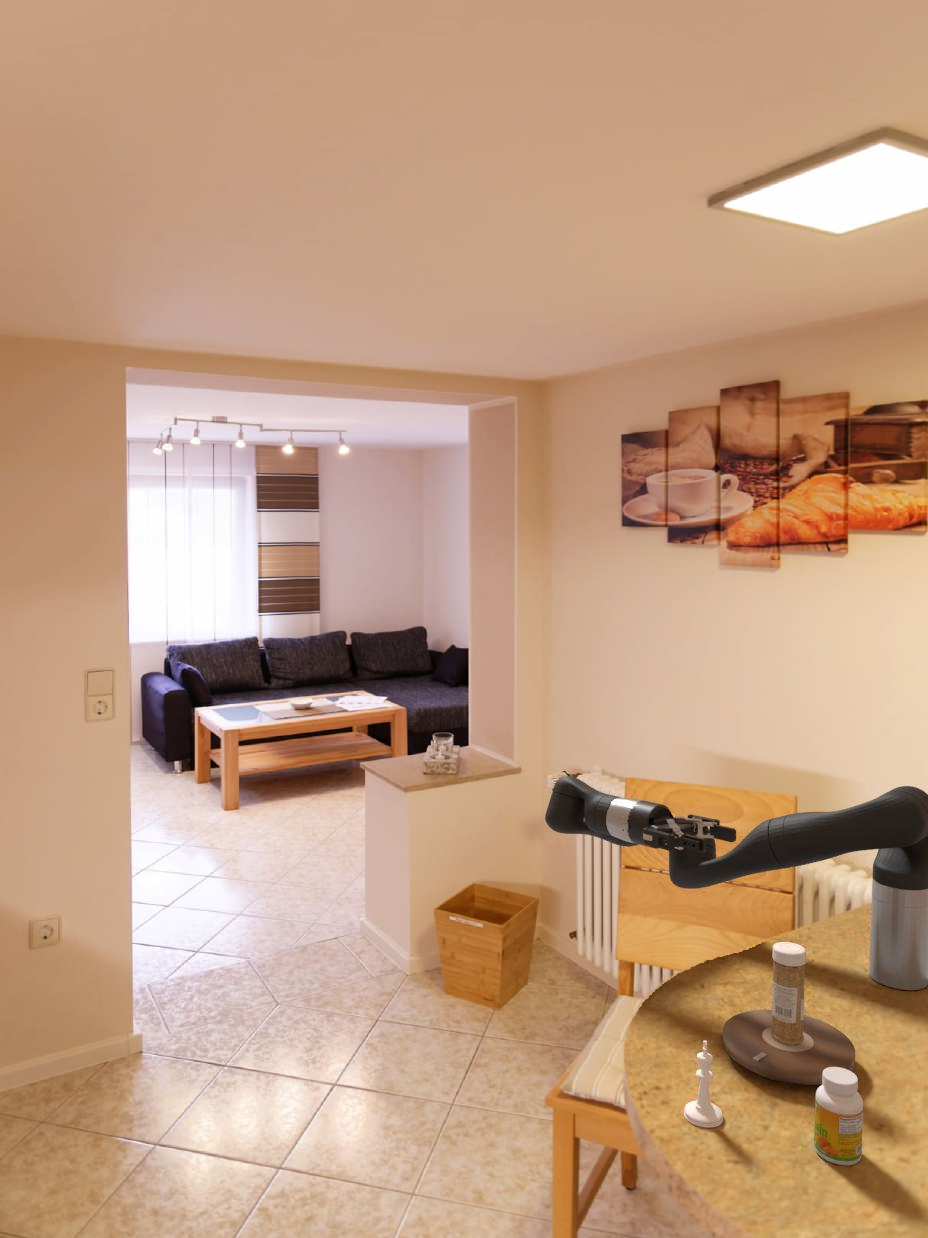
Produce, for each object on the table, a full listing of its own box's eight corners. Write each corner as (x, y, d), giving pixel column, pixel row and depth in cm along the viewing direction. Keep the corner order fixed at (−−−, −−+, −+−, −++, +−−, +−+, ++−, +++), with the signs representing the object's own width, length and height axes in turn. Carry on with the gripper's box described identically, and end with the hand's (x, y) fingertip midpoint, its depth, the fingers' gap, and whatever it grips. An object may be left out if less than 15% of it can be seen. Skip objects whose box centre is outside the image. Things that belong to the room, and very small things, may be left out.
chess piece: (724, 1110, 122) (726, 1035, 121) (721, 1131, 117) (723, 1054, 116) (685, 1102, 123) (687, 1029, 123) (681, 1123, 119) (683, 1047, 118)
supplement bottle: (805, 1140, 115) (808, 1064, 115) (847, 1138, 116) (850, 1062, 115) (826, 1168, 110) (829, 1088, 109) (870, 1166, 110) (872, 1087, 110)
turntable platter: (764, 1008, 147) (764, 997, 146) (877, 1053, 133) (878, 1041, 133) (697, 1046, 135) (698, 1035, 135) (815, 1100, 121) (815, 1088, 121)
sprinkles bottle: (810, 1040, 133) (813, 949, 132) (790, 1049, 131) (792, 956, 130) (783, 1027, 137) (786, 938, 136) (763, 1036, 134) (765, 945, 134)
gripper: (663, 835, 166) (744, 855, 154) (612, 851, 157) (694, 873, 144) (663, 794, 166) (744, 810, 154) (612, 807, 156) (694, 826, 144)
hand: (720, 841), depth 149 cm, fingers open, 8 cm apart
